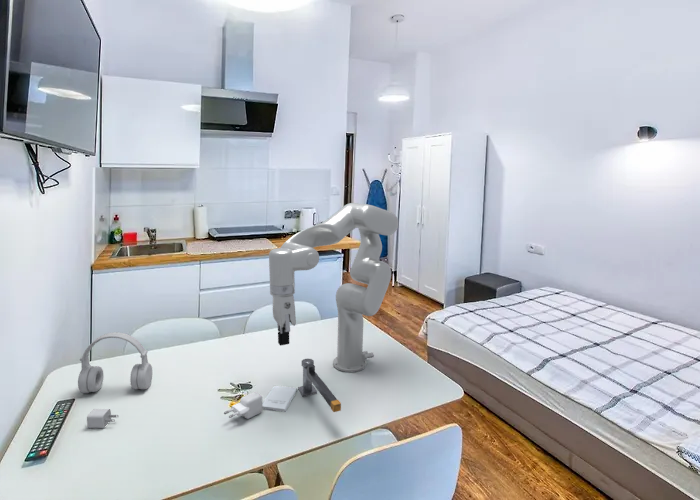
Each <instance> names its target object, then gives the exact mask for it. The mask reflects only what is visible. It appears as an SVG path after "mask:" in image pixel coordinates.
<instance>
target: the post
mask: <svg viewBox="0 0 700 500" xmlns="http://www.w3.org/2000/svg"><path fill="white" fill-rule="evenodd" d="M297 391H298V392H299V394H300V395H301V396H302V397H303V398H304V397H308V396H312V395H313V396H314V395H317V394H318V390H317V389H316V387H315V386H314V384H313V383H312V382H311V380H310V379H309V378H308V376H307V368H305V367H303V366H302V386H298V387H297Z"/></svg>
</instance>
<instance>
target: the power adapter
mask: <svg viewBox="0 0 700 500" xmlns="http://www.w3.org/2000/svg"><path fill="white" fill-rule="evenodd" d="M262 403H263V396H262V394H261V393H259V392H257V391H253V392H250V393H248V394H246V395H243V396H242V397H241V398H240V400H239V402H237V403H235V404H234V405H232V406H231V408H229V409H228V410H226V411H224V412H223V414H224V415H228V414H229V413H231V412H233V413H232V414H230V415H228V418H229V419H230V418H231V419H232V418H233V417H235V416H238V417H241V416H242V417H243V418H244V419H246V420H247V419H248V420H250V419H251V418H253V417H256V416H257V415H259V414H261V413H262V412H263V410H264V409H263V405H262Z"/></svg>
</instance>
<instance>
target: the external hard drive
mask: <svg viewBox="0 0 700 500" xmlns="http://www.w3.org/2000/svg"><path fill="white" fill-rule="evenodd" d="M297 392H298V387H293V386H285V385H283V386H282V385H273V387H272V388H271V389H270V390H269V392H268V394H267V395H266V397H265V398H264V400H262V405H263V409H262V410H268V411H275V412H283V413H286V412H287V411H288V408H289V406H290V405H291V403H292V401H293V399H294V397H295V395H296V393H297Z"/></svg>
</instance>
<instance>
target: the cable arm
mask: <svg viewBox="0 0 700 500" xmlns="http://www.w3.org/2000/svg"><path fill="white" fill-rule="evenodd" d="M301 366H302V368H303V367H305V368H307V376H308V378H309V379H310V380H311V382H312V385H313V386H314V388H315V389H316V390H317V392H319V394H320V395H321V397H322V399H324V401H325V402H326V404H327V405H328V406H329V407H330V410H331V411H332V413H337V412H341V411H342V410H341V409H342V402H341V401H340V400H339V399H337V397H336V396H335V394H334V393H332V391H331V390H330V389H329V388H328V386H327V385H326V383H325V382H324V381H323V379H322V378H321V377H320V376H319V375H318V374H317V372H316V366H315V360H313V359H312V358H304V359H302V360H301Z"/></svg>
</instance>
